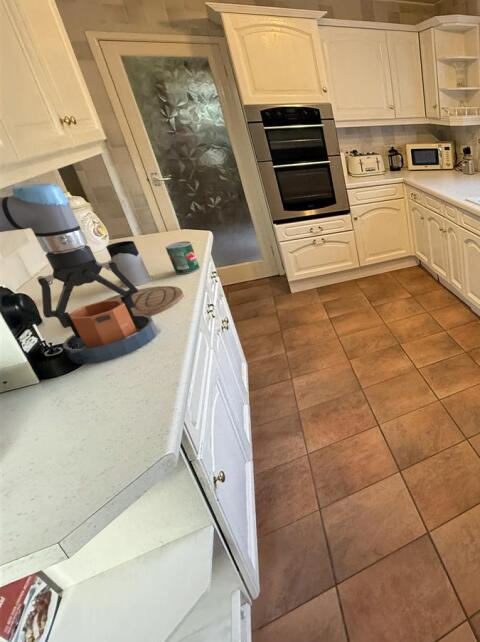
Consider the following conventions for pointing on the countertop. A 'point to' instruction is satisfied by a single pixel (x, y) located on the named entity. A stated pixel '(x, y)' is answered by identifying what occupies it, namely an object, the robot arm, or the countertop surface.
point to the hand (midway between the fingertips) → (106, 327)
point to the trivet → (154, 299)
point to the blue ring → (113, 344)
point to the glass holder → (129, 262)
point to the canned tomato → (182, 257)
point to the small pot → (103, 322)
